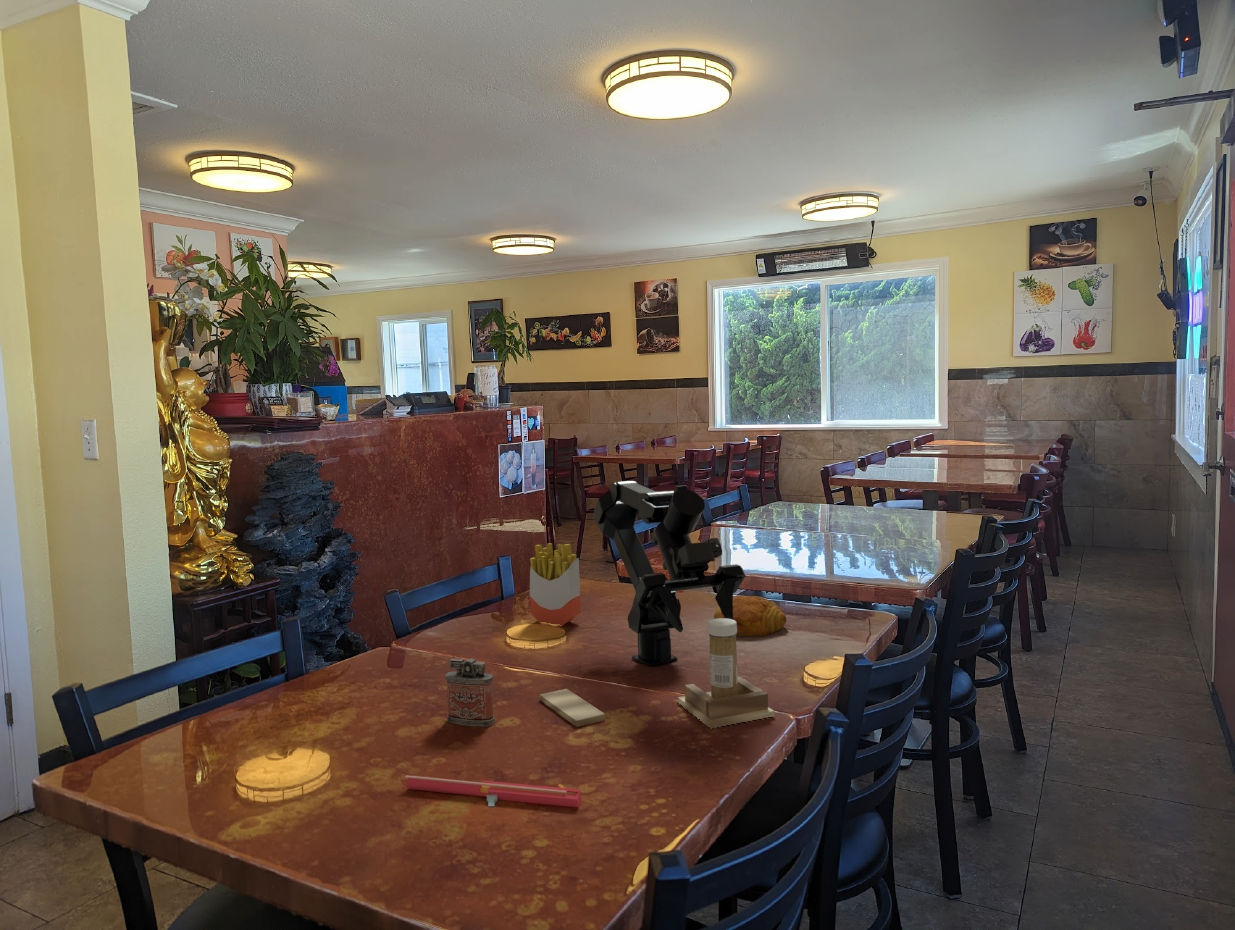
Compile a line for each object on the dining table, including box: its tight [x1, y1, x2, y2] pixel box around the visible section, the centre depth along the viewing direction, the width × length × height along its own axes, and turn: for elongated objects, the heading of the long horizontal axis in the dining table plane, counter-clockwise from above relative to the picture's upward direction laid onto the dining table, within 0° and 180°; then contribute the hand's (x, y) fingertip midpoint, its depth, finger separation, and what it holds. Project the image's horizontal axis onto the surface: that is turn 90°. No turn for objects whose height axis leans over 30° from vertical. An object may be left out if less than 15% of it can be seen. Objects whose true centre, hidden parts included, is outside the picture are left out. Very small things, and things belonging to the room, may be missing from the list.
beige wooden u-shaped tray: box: [677, 675, 775, 730], centre depth 134 cm, size 12×11×4 cm
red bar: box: [405, 775, 582, 808], centre depth 107 cm, size 24×2×5 cm
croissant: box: [713, 594, 787, 637], centre depth 180 cm, size 14×16×8 cm
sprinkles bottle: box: [707, 618, 739, 699], centre depth 133 cm, size 5×5×13 cm
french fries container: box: [529, 542, 582, 626], centre depth 189 cm, size 5×11×18 cm, turn 64°
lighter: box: [444, 657, 496, 727], centre depth 132 cm, size 8×3×10 cm, turn 71°
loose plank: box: [539, 688, 606, 728], centre depth 136 cm, size 14×5×2 cm, turn 29°
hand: (706, 627), depth 138 cm, fingers open, 9 cm apart
